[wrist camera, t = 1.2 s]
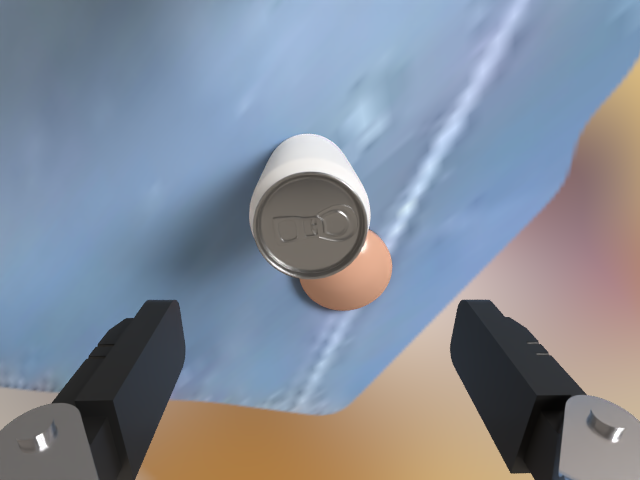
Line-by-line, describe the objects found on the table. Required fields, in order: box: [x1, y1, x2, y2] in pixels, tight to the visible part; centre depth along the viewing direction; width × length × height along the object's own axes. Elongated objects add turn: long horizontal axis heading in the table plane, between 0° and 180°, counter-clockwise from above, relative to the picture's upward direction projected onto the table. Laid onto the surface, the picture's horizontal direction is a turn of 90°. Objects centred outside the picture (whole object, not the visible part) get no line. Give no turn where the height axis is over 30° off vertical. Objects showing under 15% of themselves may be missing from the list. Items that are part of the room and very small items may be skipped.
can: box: [249, 134, 370, 279], centre depth 24 cm, size 6×6×12 cm
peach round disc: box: [300, 229, 392, 311], centre depth 32 cm, size 8×8×1 cm
